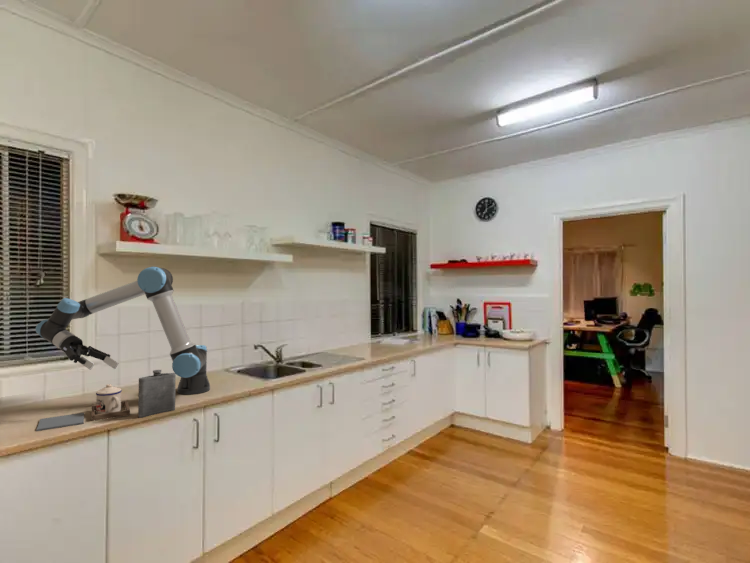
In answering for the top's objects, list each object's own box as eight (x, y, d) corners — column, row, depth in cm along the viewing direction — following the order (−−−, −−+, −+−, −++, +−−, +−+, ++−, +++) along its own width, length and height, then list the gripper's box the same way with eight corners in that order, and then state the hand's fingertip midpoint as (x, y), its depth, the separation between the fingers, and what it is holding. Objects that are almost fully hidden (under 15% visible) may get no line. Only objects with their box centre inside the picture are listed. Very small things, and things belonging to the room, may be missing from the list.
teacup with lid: (91, 413, 168) (91, 385, 168) (114, 407, 176) (115, 380, 176) (105, 418, 162) (106, 389, 162) (129, 412, 170) (129, 384, 170)
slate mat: (84, 413, 167) (84, 412, 167) (83, 423, 156) (83, 422, 156) (40, 420, 159) (40, 418, 159) (36, 431, 148) (36, 429, 148)
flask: (136, 416, 165) (137, 372, 165) (172, 408, 176) (173, 367, 176) (139, 418, 163) (140, 373, 163) (176, 410, 173) (176, 368, 174)
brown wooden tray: (127, 405, 179) (127, 400, 179) (129, 415, 166) (130, 410, 166) (91, 410, 172) (91, 405, 172) (91, 421, 159) (91, 416, 159)
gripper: (86, 350, 188) (120, 373, 185) (37, 349, 164) (75, 375, 160) (95, 336, 189) (129, 358, 185) (47, 333, 165) (86, 358, 161)
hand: (104, 366), depth 173 cm, fingers open, 13 cm apart
